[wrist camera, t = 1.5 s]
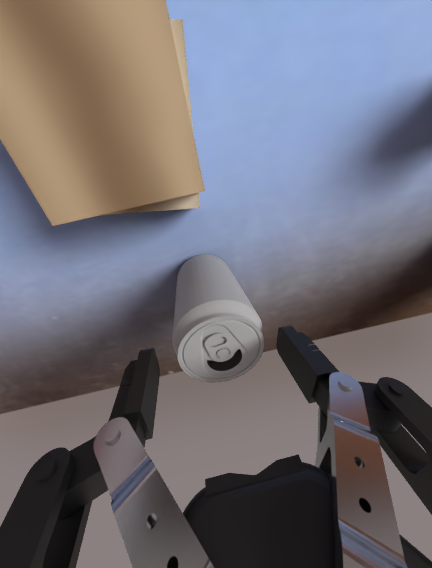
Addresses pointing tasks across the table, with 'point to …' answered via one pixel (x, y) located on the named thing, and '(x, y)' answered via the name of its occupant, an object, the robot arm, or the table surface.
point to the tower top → (95, 105)
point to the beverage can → (214, 322)
